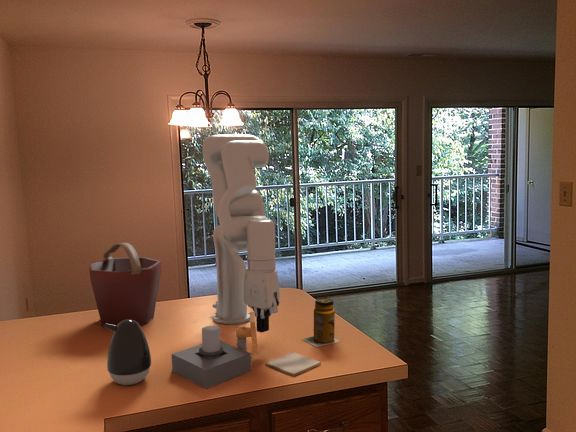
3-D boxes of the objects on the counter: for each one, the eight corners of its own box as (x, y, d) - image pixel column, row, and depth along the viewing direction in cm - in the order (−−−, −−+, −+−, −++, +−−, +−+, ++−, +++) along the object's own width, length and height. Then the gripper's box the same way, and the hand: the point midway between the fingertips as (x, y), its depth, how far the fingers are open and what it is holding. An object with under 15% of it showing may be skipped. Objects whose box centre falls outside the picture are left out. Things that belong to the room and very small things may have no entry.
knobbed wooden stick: (236, 354, 127) (235, 346, 127) (235, 319, 153) (235, 312, 153) (257, 353, 128) (257, 345, 127) (253, 318, 153) (253, 312, 153)
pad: (265, 364, 137) (265, 362, 136) (292, 354, 144) (292, 351, 144) (293, 376, 130) (293, 374, 130) (320, 364, 137) (320, 362, 137)
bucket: (91, 312, 180) (87, 240, 177) (157, 305, 189) (154, 235, 185) (93, 336, 158) (89, 253, 155) (168, 326, 166) (166, 248, 163)
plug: (194, 371, 133) (193, 328, 131) (213, 364, 137) (213, 323, 136) (209, 378, 129) (208, 334, 127) (228, 371, 133) (227, 328, 131)
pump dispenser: (112, 372, 132) (109, 313, 130) (155, 370, 133) (152, 312, 131) (102, 391, 122) (98, 327, 120) (147, 389, 123) (145, 325, 121)
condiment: (340, 341, 153) (341, 301, 151) (317, 347, 148) (317, 306, 147) (325, 334, 159) (325, 295, 157) (302, 339, 154) (302, 299, 153)
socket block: (172, 371, 133) (171, 347, 132) (232, 350, 147) (231, 328, 146) (206, 388, 123) (205, 362, 122) (267, 364, 137) (266, 340, 136)
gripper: (232, 263, 146) (234, 328, 147) (271, 270, 135) (272, 340, 137) (253, 259, 151) (254, 322, 153) (291, 266, 141) (292, 333, 143)
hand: (262, 330), depth 145 cm, fingers closed
